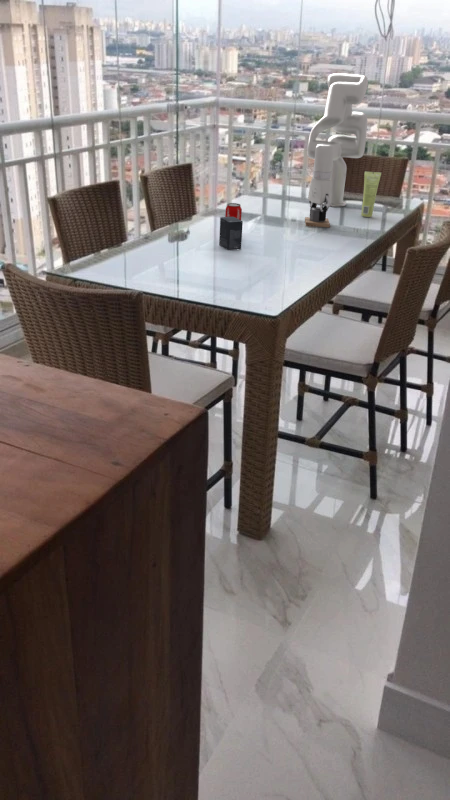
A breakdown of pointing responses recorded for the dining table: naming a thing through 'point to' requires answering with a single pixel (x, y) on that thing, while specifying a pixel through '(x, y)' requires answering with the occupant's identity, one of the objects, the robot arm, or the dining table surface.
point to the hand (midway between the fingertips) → (317, 218)
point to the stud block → (316, 223)
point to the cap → (315, 214)
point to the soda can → (233, 210)
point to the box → (230, 233)
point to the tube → (369, 192)
